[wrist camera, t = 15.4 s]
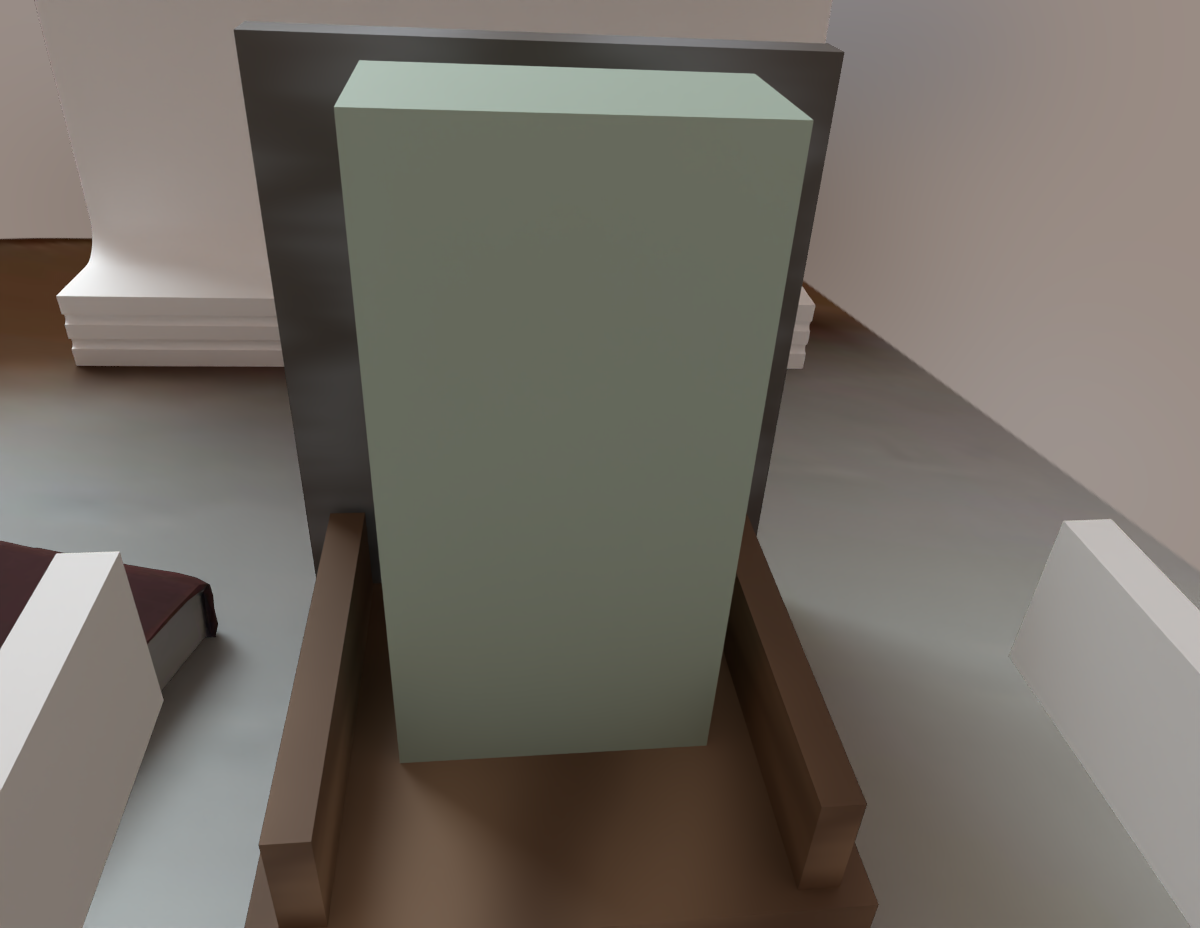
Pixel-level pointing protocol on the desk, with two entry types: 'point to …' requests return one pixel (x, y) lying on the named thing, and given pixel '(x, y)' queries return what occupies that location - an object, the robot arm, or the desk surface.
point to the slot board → (358, 627)
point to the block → (224, 156)
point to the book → (163, 601)
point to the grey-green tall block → (562, 386)
